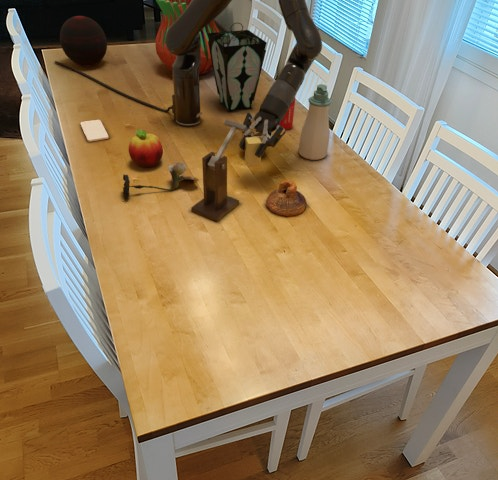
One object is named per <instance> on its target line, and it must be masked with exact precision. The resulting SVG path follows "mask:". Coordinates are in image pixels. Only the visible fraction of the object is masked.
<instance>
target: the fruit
mask: <svg viewBox="0 0 498 480" xmlns="http://www.w3.org/2000/svg"><path fill="white" fill-rule="evenodd" d="M135 134H136V135H134V136H133V137H132V138H131V139H130V141H129V144H128V154H129V157H130V159H131V161H132V162H133V163H134V164H135V165H137V166H139V167H141V168H152V167H155V166H156V165H158V164H159V163H160V162H161V160H162V158H163V153H164V147H163V145H162V142H161V141H160V139H159V137H158V136H157V135H155V134H154V133H147V131H146V130H144V129H141V128H137V129H136V130H135Z"/></svg>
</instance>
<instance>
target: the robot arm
mask: <svg viewBox="0 0 498 480" xmlns="http://www.w3.org/2000/svg"><path fill="white" fill-rule="evenodd" d="M232 2H233V0H192V1H191V2H190V4H189V6H188V7H187V9H186V10H185V11H184V12H183V14H182V15H181V16H180V17H179V18H178V19H177V20H176V21H175V22H174V23H173V24H172V25H171V26H170V27H169V29H168V30H167V32H166V36H165V43H166V47H167V49H168V51H169V52H170V53H172V54H173V55H176V56H177V57H176V60H175V62H174V63H173V66H172V70H171V72H172V73H171V74H172V84H173V85H172V86H173V94H172V95H171V101H172V104H171V106H169V107H167V108H166V109H164V108H161V107H158V106H156V105H154V104H151V103H150V102H149V103H148V102H146V101H143V100H141V99H139V98H136V97H134V96H132V95H129V94H127V93H125V92H122V91H120V90H118V89H117V88H114V87H112V86H110V85H108V84H107V83H104V82H102V81H100V80H99V79H97V78H94V77H93V76H91V75H89V74H87V73H85V72H83V71H81V70H79V69H77V68H75V67H72V66H69V65H68V64H65V63H63V62H59V61H57V60H55V61H54V63H55V64H57V65H58V66H59V65H60V66H61V67H65V68H67V69H70V70H72V71H74V72H76V73H78V74H80V75H82V76H84V77H86V78H88V79H90V80H91V81H93V82H96V83H98V84H100V85H102V86H103V87H105V88H107V89H109V90H111V91H113V92H116V93H117V94H119V95H121V96H124V97H126V98H128V99H130V100H133V101H135V102H137V103H140V104H143V105H145V106H148V107H150V108H153V109H155V110H157V111H159V112H163V113H169V112H170V110H171V114H172V115H173V121H174V122H176V124H178V125H179V126H183V127H195V126H198V125H200V124H201V122H202V118H201V117H202V115H203V111H201V96H200V95H201V94H200V75H199V67H200V63H201V38H200V33H199V32H200V31H201V30H202V29H203V28H204V27H205V26H206V25H208V24H209V23H210V22H211V21H213V20H214V21H215V19H216V18H217V17H219V16H220V14H222V13H223V12H224V11H226V9H227V8H228V6H230V4H231V3H232ZM278 5H279V8H280V12H281V14H282V17H283V20H284V24H285V25H286V28H287V30H288V31H290V32H292V33H293V37H294V39H295V41H296V43H295V44H294V45H293V48H292V50H291V52H290V54H289V56H288V58H287V60H286V62H285V64H284V65H283V67H282V69H281V70H280V72H279V74H278V76H277V77H276V79H275V81H274V82H273V83H272V85H271V86H270V88H269V90H268V91H267V94H266V95H265V97H264V99H263V101H262V102H261V104H260V106H259V110H258V112H257V113H256V114H252V113H251V112H247V113H246V115H245V118H244V120H243V122H242V124H243V125H246V126H247V128H248V129H247V130H246V132H243V131H241V133H242V132H243V133H242V135H243V134H244V136H243V137H242V138H241V140H240V142H239V149H240V150H242V151H245V138H248V137H253V136H254V135H256V134H258V133H259V132H260V133H263V140H262V143H261V144H260V145H259V147H258V149H257V151H256V152H255V155H256V156H257V157H258V158H260V157H261V156H262V155H263V156H264V154H263V153H265V152H266V150H267V148H269V147H271V148H275V147H276V146H277V144H278V143H279V142H280V140H281V139H282V138H283V136H284V135H285V134H286V132H287V130H285V129H284V128H283V127H282V126H279V125H280V122H281V121H282V120H283V118H284V116H285V115H286V113H287V111H288V109H289V108H290V106H291V104H292V102H293V100H294V98H295V99H296V95H297V93H298V91H299V90H300V88H301V86H302V85H303V83H304V80H305V78H306V75H307V73H308V71H309V69H310V68H311V66H312V65H313V63H314V62H315V60H316V59H317V58H318V57H319V56H320V54H321V53H322V49H323V40H322V37H321V33H320V31H319V29H318V27H317V26H316V24H315V22H314V20H313V18H312V17H311V14H310V10H309V8H308V5H307V2H306V0H278ZM251 124H252V125H251ZM254 128H255V129H254ZM263 156H262V157H263ZM262 157H261V158H262Z"/></svg>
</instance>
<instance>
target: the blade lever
mask: <svg viewBox="0 0 498 480" xmlns="http://www.w3.org/2000/svg"><path fill="white" fill-rule="evenodd" d="M223 124H224V127H228V128H230V130H229V131H228V132H227V135H226V137H225V139H224V140H223V143H222V144H221V146H220V147H219V150H218V151H217V153H216V154H215V156H212V157H211V159H210V161H209V163H208V166H209V167H210V169H212V170H215V162H216V161H217V160H219V159H220V158H222V157H223V156H224V153H225V152H226V150H227V148H228V146H229V145H230V142H231V141H232V139H233V137H234V135H235V134H236V132H237V131H240V132H242V131H243V132H246V130H247V129H248V128H247V126H246V125H243V123H240V122H236V121H232V120H229V119H225V121H224V122H223Z"/></svg>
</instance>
